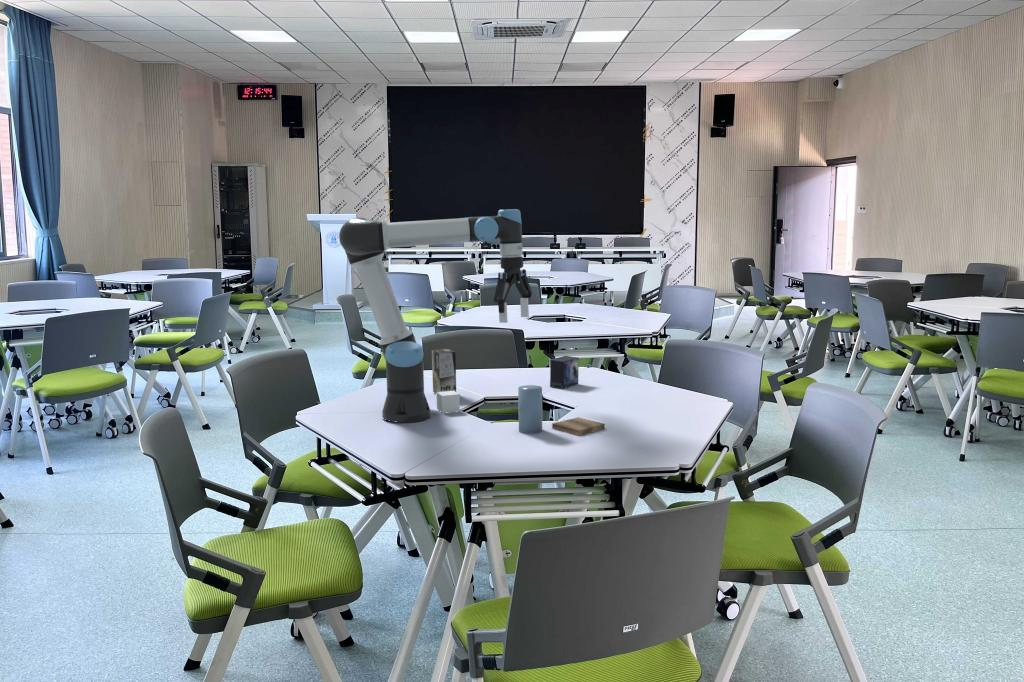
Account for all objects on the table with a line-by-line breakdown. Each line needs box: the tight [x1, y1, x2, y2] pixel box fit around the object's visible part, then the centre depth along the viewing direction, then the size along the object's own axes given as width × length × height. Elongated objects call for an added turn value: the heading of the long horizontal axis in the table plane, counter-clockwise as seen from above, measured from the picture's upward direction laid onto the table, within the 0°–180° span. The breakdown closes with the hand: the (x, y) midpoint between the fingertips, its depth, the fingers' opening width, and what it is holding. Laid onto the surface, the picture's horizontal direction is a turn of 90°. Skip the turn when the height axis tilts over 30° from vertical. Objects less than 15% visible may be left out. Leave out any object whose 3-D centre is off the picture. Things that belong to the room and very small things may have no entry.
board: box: [551, 417, 606, 436], centre depth 242 cm, size 11×11×2 cm
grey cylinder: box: [517, 384, 543, 435], centre depth 239 cm, size 7×7×13 cm
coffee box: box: [431, 348, 457, 395], centre depth 288 cm, size 9×6×16 cm
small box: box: [549, 355, 580, 390], centre depth 302 cm, size 11×6×10 cm, turn 143°
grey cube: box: [436, 391, 461, 414], centre depth 266 cm, size 6×6×6 cm
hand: (514, 319), depth 272 cm, fingers open, 13 cm apart
